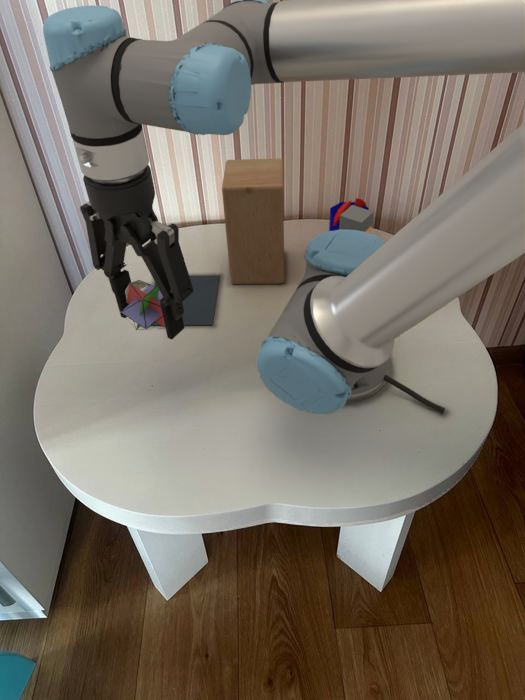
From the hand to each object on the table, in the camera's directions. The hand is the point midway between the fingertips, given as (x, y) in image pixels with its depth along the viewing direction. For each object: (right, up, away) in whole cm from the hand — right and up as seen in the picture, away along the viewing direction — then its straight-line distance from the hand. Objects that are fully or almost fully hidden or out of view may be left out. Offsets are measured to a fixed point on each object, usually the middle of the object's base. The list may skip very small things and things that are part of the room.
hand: (152, 322), depth 79 cm
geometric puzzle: (0, 0, 0) cm, 0 cm away
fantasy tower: (+32, +15, +32) cm, 48 cm away
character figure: (+31, +4, +21) cm, 38 cm away
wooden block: (+15, +12, +30) cm, 35 cm away
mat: (+1, +5, +24) cm, 25 cm away
